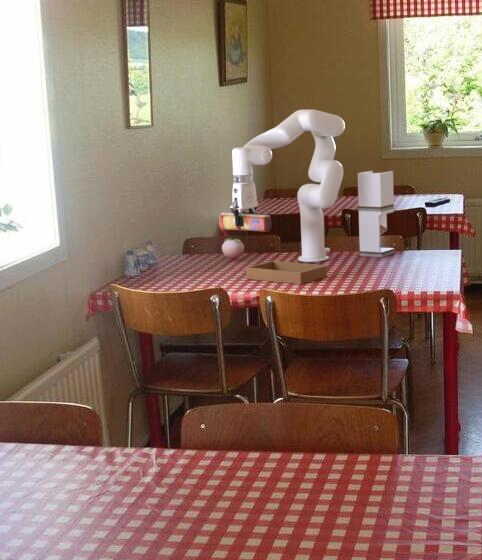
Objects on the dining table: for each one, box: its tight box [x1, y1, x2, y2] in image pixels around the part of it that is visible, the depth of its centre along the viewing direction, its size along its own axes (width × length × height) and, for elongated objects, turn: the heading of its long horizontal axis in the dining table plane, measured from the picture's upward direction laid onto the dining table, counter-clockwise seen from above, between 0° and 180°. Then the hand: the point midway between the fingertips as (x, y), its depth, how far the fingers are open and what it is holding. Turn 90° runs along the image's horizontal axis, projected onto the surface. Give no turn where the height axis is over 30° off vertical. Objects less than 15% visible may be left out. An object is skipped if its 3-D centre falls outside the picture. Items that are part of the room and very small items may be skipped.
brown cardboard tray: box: [245, 260, 328, 285], centre depth 375 cm, size 17×26×4 cm, turn 56°
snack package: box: [218, 212, 273, 233], centre depth 388 cm, size 21×7×7 cm, turn 64°
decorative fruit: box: [221, 236, 245, 261], centre depth 418 cm, size 9×8×10 cm
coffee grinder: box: [357, 170, 396, 258], centre depth 420 cm, size 11×11×35 cm
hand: (245, 224), depth 388 cm, fingers closed on snack package, 7 cm apart
